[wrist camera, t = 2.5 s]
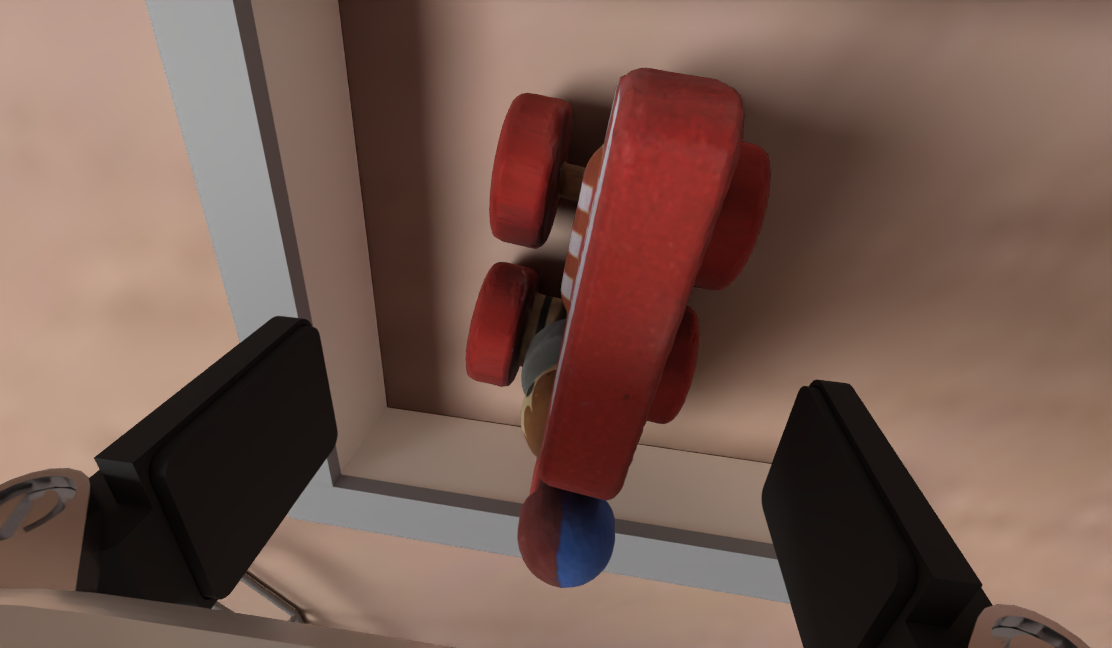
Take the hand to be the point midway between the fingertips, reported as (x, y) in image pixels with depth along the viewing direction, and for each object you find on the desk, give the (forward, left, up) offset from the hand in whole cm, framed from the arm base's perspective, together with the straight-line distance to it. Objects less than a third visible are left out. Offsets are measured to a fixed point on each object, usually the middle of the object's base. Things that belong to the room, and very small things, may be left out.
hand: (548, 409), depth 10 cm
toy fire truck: (-1, 0, -9) cm, 9 cm away
